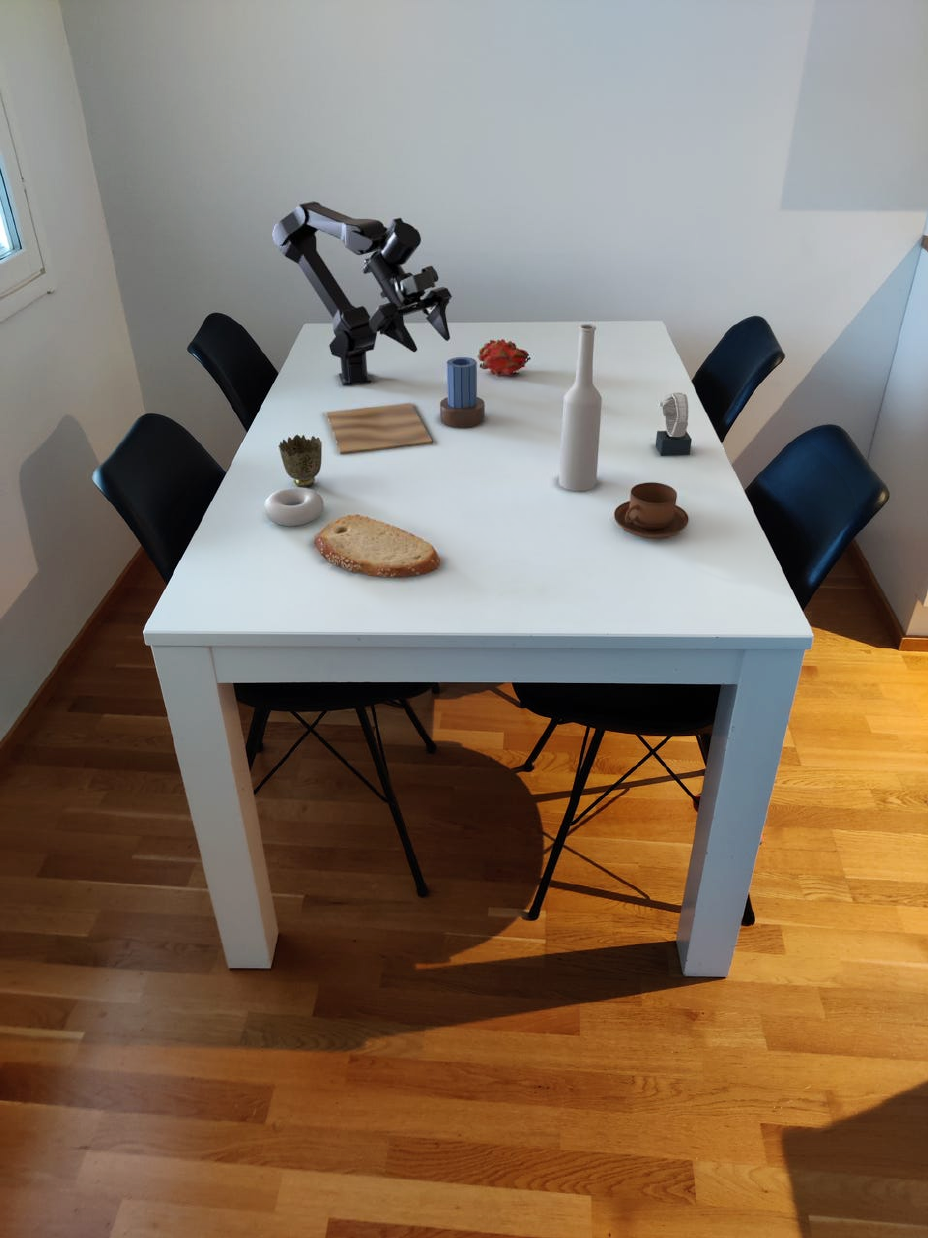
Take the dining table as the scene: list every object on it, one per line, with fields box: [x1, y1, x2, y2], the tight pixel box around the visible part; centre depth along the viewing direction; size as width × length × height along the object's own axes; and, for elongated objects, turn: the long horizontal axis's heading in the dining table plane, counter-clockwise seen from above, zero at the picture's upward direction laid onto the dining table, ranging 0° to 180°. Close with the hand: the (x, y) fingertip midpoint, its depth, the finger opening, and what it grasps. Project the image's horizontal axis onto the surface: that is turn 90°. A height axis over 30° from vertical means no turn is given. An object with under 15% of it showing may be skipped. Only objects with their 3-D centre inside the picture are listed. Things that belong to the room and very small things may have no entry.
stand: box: [439, 396, 486, 429], centre depth 190 cm, size 9×9×8 cm
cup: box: [278, 434, 323, 488], centre depth 167 cm, size 8×7×8 cm
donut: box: [263, 486, 325, 527], centre depth 159 cm, size 10×4×10 cm
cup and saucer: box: [613, 481, 689, 539], centre depth 153 cm, size 12×12×6 cm
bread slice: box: [313, 513, 442, 579], centre depth 148 cm, size 18×18×4 cm
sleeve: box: [446, 356, 478, 409], centre depth 188 cm, size 6×6×8 cm
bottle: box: [558, 323, 603, 493], centre depth 160 cm, size 7×7×28 cm
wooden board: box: [325, 402, 433, 455], centre depth 189 cm, size 20×18×1 cm
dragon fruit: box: [477, 338, 531, 378], centre depth 211 cm, size 8×8×12 cm
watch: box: [655, 392, 693, 457], centre depth 176 cm, size 6×8×11 cm
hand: (432, 345), depth 189 cm, fingers open, 9 cm apart
